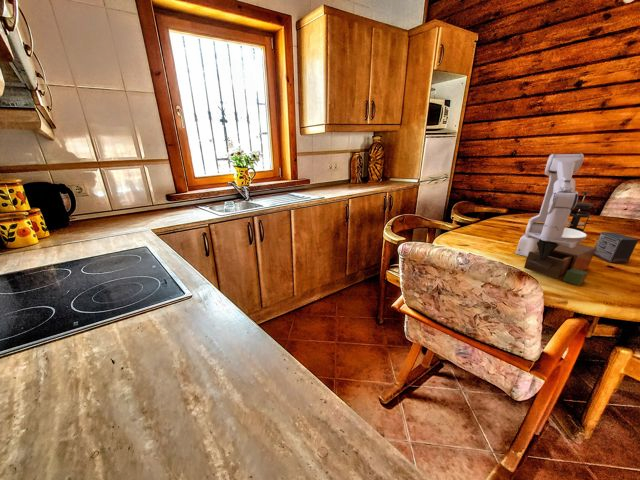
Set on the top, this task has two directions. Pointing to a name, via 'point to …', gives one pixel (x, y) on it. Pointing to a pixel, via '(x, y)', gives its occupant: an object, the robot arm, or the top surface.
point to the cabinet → (577, 255)
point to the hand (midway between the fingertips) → (542, 259)
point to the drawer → (549, 263)
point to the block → (575, 276)
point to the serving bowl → (574, 235)
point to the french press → (576, 217)
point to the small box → (614, 247)
